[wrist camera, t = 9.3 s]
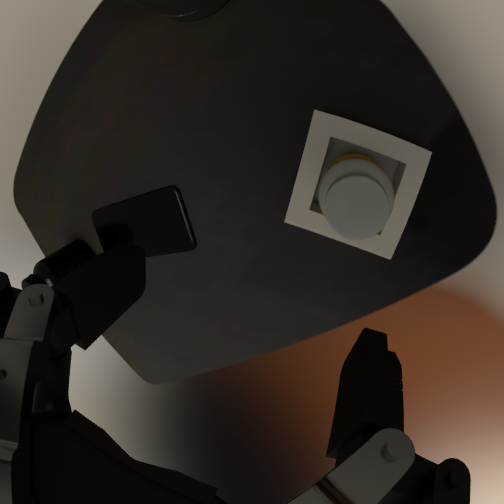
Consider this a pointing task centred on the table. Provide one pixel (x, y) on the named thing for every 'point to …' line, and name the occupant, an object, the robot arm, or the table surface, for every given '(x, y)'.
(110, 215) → the smartphone
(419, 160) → the socket plate
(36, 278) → the supplement bottle
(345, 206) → the supplement bottle
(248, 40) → the table surface
